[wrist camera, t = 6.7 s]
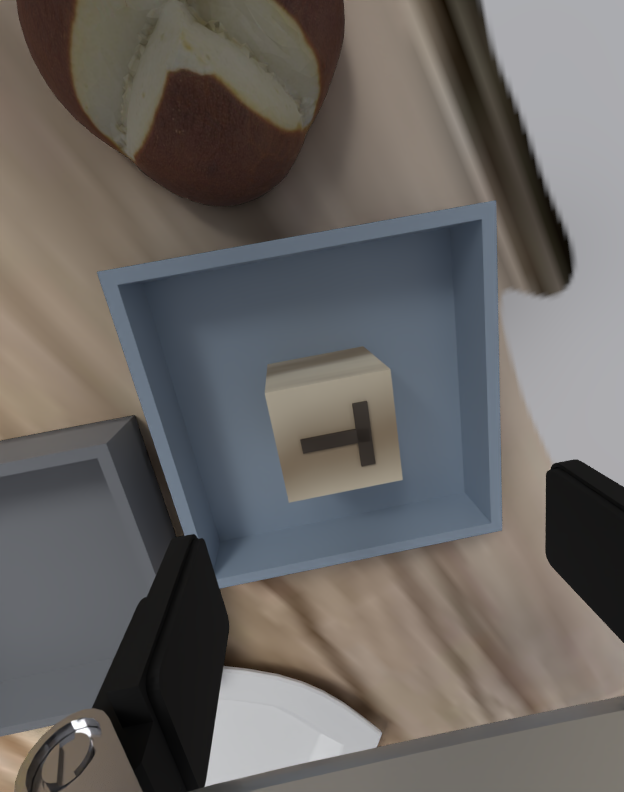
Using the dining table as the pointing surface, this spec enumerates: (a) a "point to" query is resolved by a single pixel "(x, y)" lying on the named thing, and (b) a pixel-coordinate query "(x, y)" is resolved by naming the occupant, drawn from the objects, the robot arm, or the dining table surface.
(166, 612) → the robot arm
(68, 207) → the dining table surface
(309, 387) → the letter cube
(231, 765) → the plate
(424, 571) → the dining table surface
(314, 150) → the dining table surface
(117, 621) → the charcoal bin
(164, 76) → the bread
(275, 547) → the slate bin
